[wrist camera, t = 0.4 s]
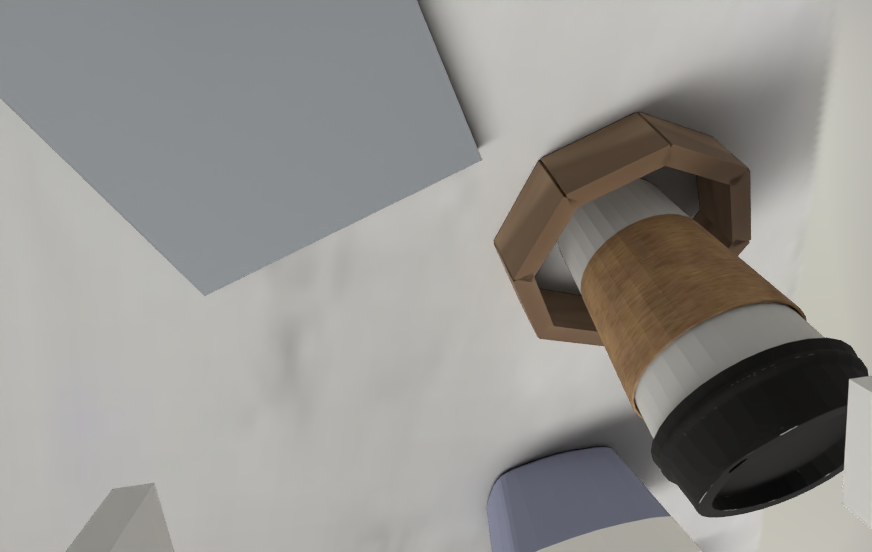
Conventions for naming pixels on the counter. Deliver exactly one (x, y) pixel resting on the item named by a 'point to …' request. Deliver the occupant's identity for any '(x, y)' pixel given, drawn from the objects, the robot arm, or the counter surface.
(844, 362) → the coffee cup
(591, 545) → the blue white tub
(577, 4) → the counter surface
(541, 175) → the cup cradle
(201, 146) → the rubber mat
